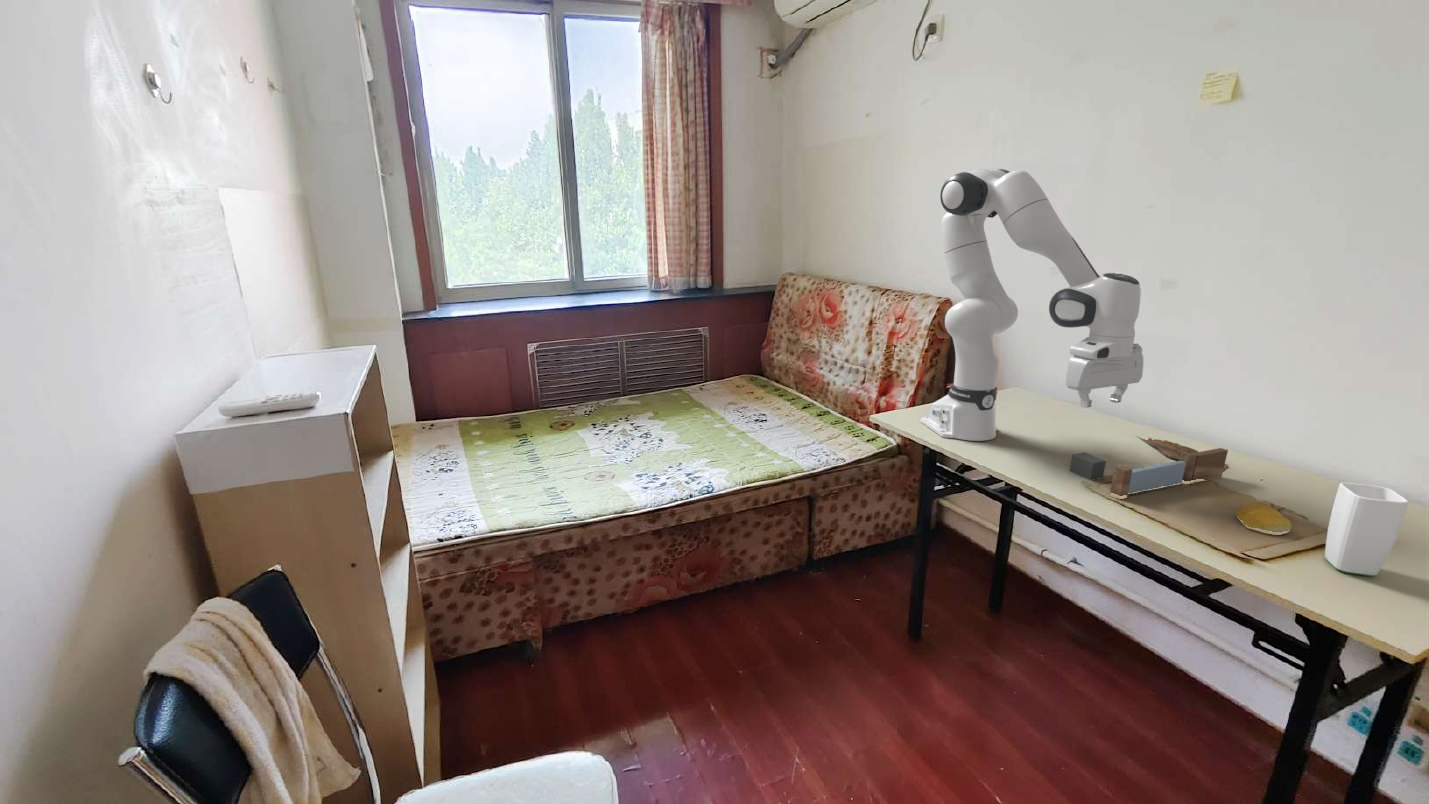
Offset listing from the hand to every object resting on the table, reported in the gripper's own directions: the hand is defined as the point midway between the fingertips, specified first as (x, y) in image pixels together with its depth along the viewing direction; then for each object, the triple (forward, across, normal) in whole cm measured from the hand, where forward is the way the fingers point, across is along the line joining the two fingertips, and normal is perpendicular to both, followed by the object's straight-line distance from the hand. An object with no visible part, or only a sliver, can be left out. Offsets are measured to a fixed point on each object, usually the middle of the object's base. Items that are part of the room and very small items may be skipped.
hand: (1100, 404), depth 150 cm
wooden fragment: (+18, -33, -2) cm, 38 cm away
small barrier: (+18, -11, +12) cm, 24 cm away
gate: (+18, -6, +12) cm, 22 cm away
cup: (+18, -7, +48) cm, 52 cm away
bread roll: (+18, -10, +32) cm, 38 cm away
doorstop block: (+18, +1, 0) cm, 18 cm away
